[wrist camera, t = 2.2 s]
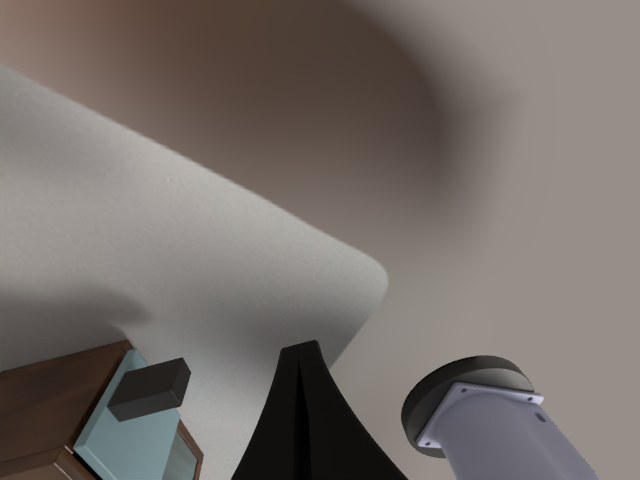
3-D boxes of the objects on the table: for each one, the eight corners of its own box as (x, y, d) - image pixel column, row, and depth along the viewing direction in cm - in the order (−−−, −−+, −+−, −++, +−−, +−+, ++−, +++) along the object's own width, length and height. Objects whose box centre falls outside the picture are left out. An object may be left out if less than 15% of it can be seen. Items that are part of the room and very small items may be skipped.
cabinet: (127, 339, 21) (53, 463, 14) (204, 454, 28) (179, 581, 20) (-17, 376, 21) (-166, 520, 14) (92, 484, 27) (28, 623, 20)
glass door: (189, 334, 21) (157, 426, 15) (226, 403, 24) (211, 500, 18) (127, 350, 21) (71, 448, 15) (173, 417, 24) (140, 519, 18)
